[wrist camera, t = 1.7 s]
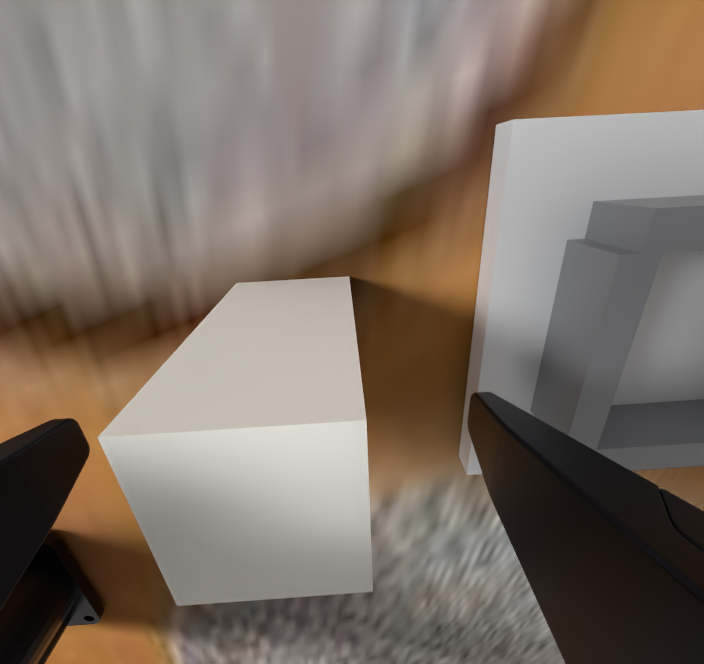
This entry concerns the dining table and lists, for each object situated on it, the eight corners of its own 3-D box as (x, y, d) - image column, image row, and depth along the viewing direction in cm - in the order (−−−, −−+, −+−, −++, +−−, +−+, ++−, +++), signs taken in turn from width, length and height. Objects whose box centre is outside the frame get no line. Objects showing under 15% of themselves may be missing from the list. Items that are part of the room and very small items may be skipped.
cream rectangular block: (354, 381, 13) (373, 592, 6) (257, 387, 13) (176, 605, 6) (349, 276, 11) (366, 420, 5) (236, 283, 11) (98, 437, 5)
